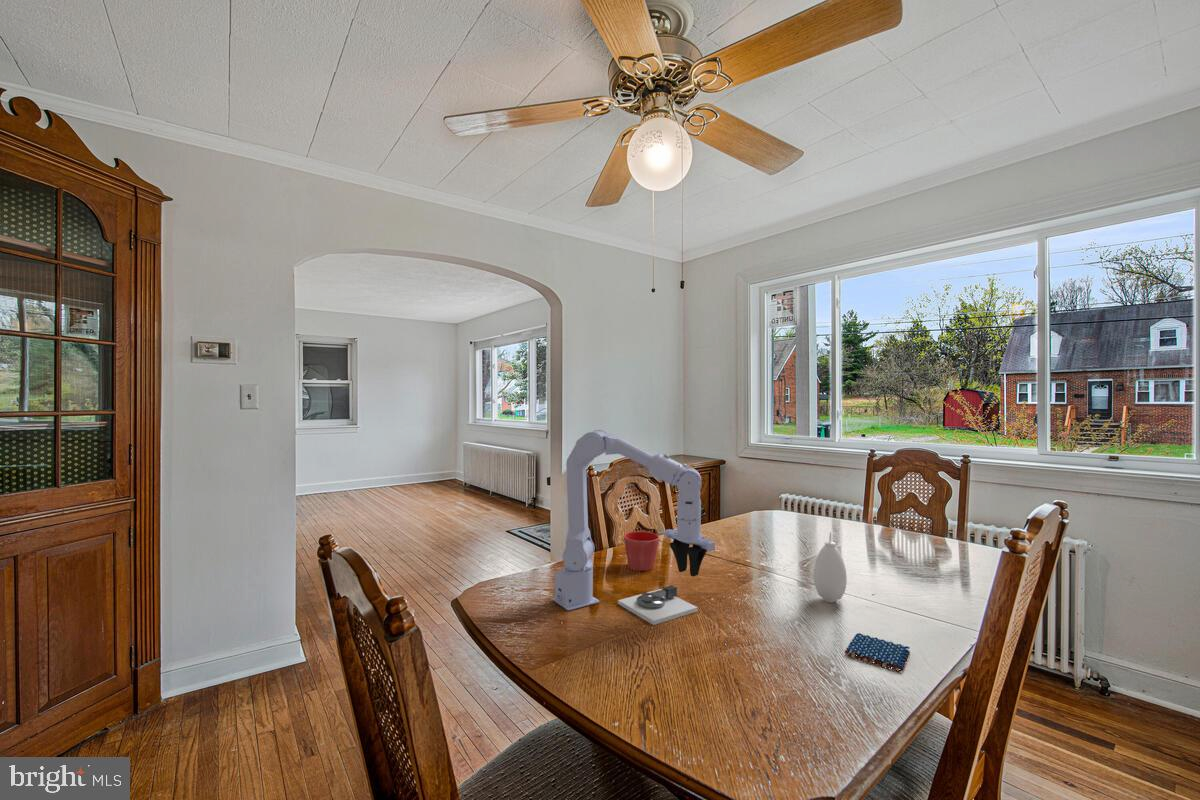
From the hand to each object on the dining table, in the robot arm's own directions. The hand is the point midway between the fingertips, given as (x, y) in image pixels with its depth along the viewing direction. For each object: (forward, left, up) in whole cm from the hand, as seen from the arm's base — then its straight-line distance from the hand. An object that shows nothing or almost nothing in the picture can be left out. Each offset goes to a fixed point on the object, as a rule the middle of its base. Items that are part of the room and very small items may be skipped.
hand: (688, 573), depth 124 cm
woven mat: (+18, -36, -10) cm, 42 cm away
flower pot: (+10, +32, -10) cm, 35 cm away
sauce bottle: (+36, -15, -10) cm, 40 cm away
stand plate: (-5, +6, -9) cm, 12 cm away
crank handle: (-4, +7, -8) cm, 11 cm away
